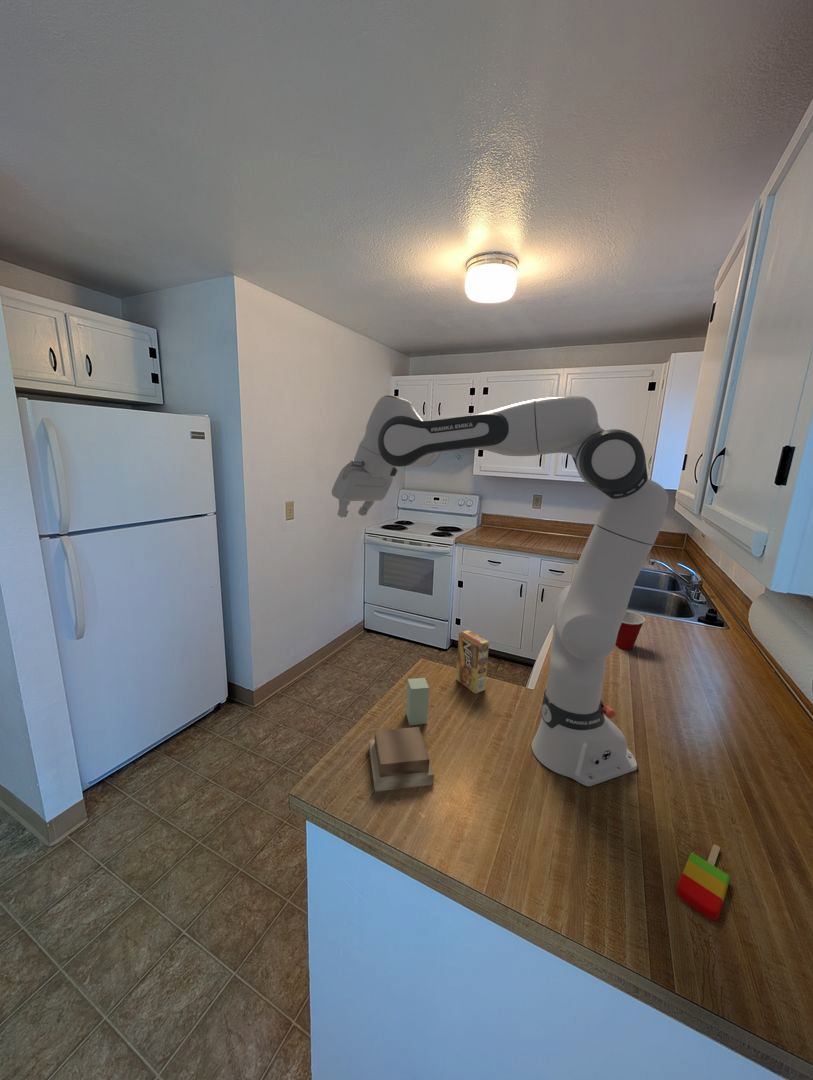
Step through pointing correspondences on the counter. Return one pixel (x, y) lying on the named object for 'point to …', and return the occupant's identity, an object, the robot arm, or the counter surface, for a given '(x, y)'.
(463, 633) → the candy box
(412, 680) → the green block
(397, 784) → the tower base
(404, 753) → the tower top
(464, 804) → the counter surface
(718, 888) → the popsicle
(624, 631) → the plastic cup
